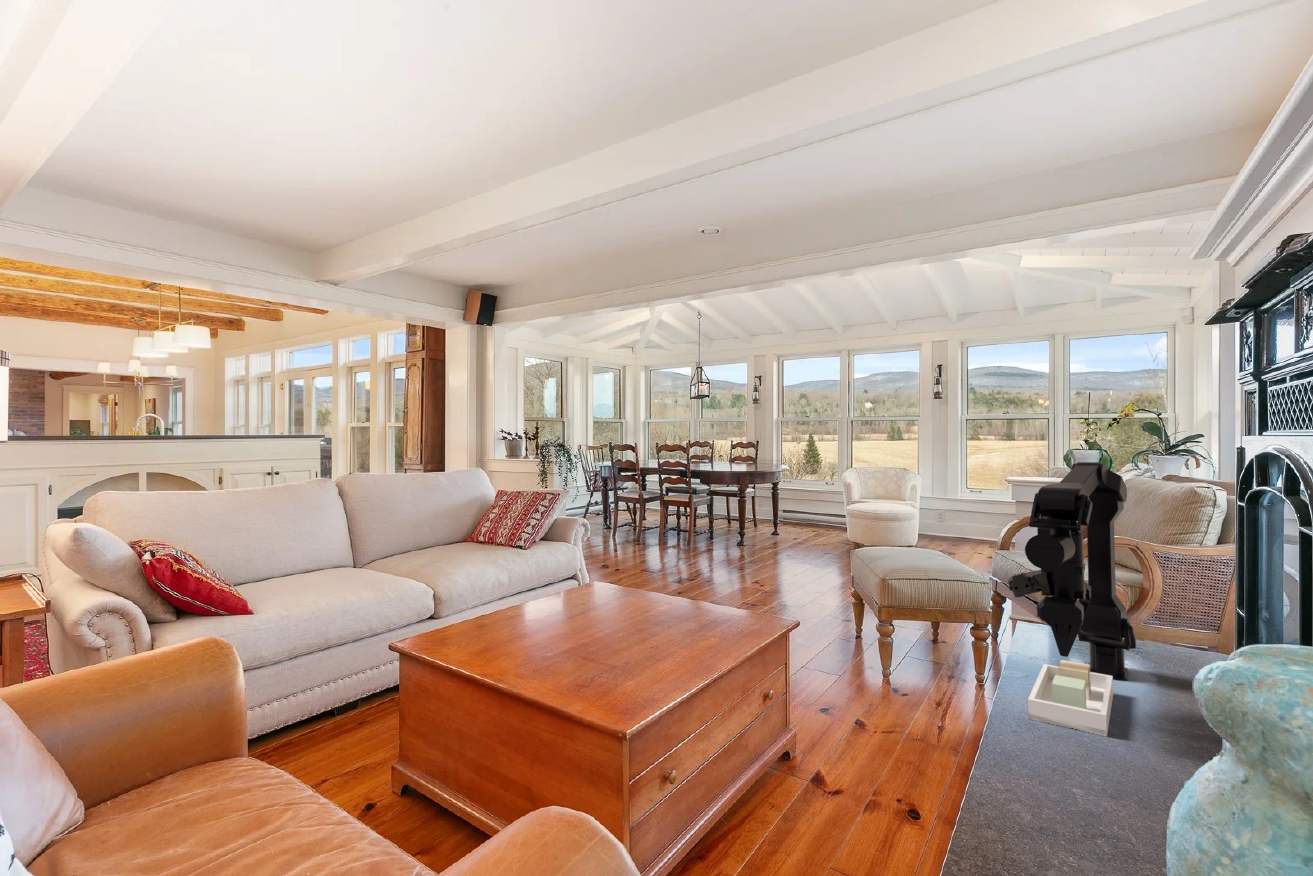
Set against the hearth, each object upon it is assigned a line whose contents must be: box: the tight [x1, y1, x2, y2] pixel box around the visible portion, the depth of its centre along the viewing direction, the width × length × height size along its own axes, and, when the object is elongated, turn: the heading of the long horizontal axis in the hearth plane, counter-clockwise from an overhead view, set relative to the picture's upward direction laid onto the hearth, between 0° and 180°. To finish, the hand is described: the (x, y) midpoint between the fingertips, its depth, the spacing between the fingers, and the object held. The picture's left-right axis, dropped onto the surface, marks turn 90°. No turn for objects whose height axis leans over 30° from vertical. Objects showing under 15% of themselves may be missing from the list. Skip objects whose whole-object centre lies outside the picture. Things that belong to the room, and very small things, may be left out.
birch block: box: [1058, 659, 1091, 700], centre depth 114 cm, size 4×4×5 cm
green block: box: [1052, 675, 1087, 709], centre depth 108 cm, size 4×4×5 cm
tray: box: [1027, 663, 1114, 737], centre depth 111 cm, size 19×11×4 cm, turn 141°
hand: (1067, 648), depth 107 cm, fingers open, 9 cm apart
